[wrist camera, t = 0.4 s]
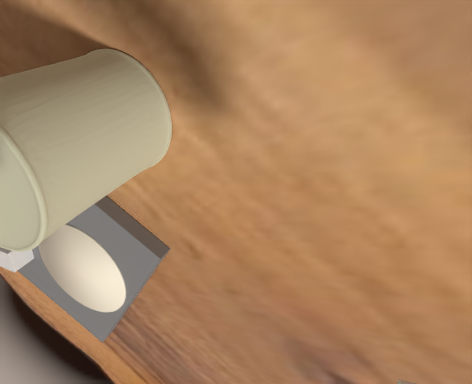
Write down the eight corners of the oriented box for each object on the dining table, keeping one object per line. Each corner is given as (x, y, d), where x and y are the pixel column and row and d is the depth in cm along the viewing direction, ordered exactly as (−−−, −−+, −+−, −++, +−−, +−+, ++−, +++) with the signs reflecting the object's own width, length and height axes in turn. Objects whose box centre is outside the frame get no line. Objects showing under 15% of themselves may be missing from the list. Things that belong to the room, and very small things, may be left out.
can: (94, 18, 26) (-103, 49, 16) (194, 112, 26) (56, 195, 16) (59, 113, 31) (-101, 176, 22) (142, 189, 32) (17, 283, 22)
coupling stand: (-13, 97, 34) (-58, 110, 31) (170, 248, 34) (142, 277, 30) (-24, 218, 46) (-58, 236, 43) (111, 332, 45) (86, 359, 42)
